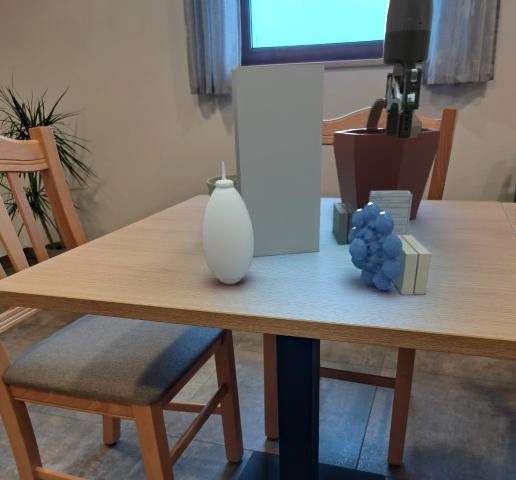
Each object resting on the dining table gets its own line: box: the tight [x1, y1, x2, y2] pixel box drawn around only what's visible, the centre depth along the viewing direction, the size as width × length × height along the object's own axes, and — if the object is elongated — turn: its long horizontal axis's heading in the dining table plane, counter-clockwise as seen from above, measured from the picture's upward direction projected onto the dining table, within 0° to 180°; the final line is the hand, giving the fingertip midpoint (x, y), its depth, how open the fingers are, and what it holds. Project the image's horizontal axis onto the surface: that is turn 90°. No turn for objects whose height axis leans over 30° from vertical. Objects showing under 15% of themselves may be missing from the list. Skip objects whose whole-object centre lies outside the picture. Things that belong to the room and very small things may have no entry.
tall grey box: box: [230, 64, 325, 258], centre depth 81 cm, size 14×6×30 cm, turn 100°
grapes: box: [348, 203, 403, 291], centre depth 67 cm, size 12×7×12 cm, turn 23°
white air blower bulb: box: [201, 160, 254, 285], centre depth 69 cm, size 8×8×18 cm
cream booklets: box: [392, 234, 432, 296], centre depth 69 cm, size 3×10×6 cm, turn 179°
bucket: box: [332, 97, 441, 221], centre depth 105 cm, size 24×22×25 cm
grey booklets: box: [332, 202, 356, 245], centre depth 93 cm, size 3×10×6 cm, turn 179°
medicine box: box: [369, 191, 412, 236], centre depth 92 cm, size 8×4×9 cm, turn 80°
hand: (397, 136), depth 85 cm, fingers open, 8 cm apart
